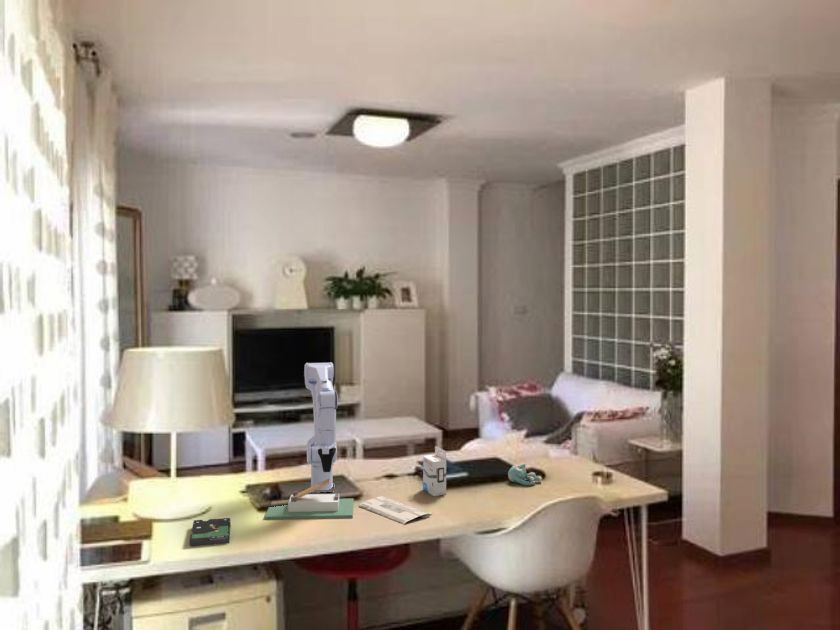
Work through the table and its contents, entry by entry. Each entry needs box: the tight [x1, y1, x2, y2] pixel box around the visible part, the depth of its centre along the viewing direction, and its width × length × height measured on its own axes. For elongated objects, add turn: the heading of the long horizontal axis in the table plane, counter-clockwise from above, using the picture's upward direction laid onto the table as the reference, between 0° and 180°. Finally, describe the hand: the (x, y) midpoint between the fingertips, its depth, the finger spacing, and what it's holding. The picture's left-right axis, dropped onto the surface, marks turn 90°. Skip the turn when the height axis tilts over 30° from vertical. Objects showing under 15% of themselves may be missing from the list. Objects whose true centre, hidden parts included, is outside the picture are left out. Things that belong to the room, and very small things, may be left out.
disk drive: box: [189, 517, 231, 548], centre depth 191 cm, size 10×3×15 cm
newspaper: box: [358, 495, 432, 525], centre depth 213 cm, size 23×12×2 cm, turn 43°
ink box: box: [422, 445, 447, 497], centre depth 231 cm, size 8×5×15 cm, turn 26°
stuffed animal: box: [507, 463, 543, 486], centre depth 244 cm, size 11×7×12 cm
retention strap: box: [294, 478, 330, 499], centre depth 212 cm, size 4×12×1 cm, turn 94°
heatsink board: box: [264, 491, 355, 520], centre depth 212 cm, size 16×26×5 cm, turn 94°
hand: (326, 471), depth 218 cm, fingers closed
